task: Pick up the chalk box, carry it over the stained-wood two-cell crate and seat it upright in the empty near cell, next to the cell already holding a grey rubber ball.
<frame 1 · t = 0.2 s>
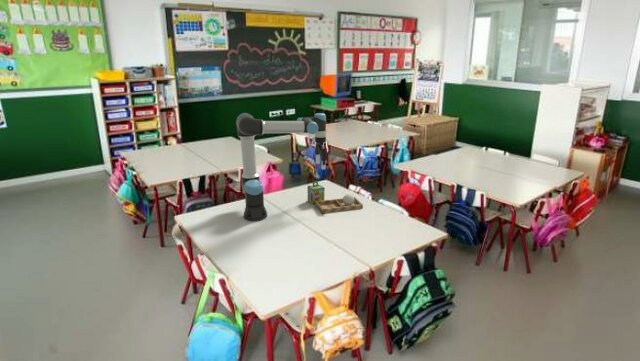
hand: (320, 166, 283), 26 cm above the table, fingers open, 13 cm apart
grey ball: (348, 205, 282), point 1 cm above the table, touching crate
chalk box: (316, 202, 291), on the table
crate: (338, 207, 280), on the table
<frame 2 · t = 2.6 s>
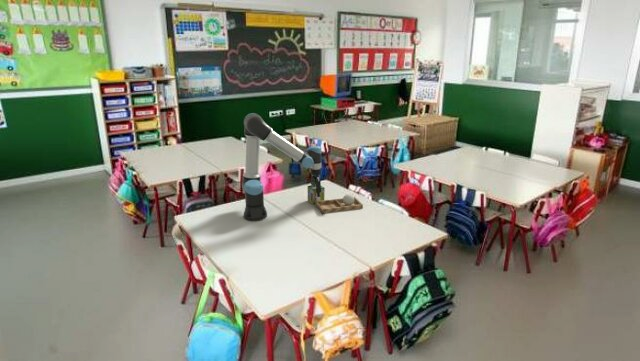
hand: (316, 198, 290), 3 cm above the table, fingers closed on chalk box, 10 cm apart
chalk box: (316, 202, 291), on the table, touching gripper
everything else where it was.
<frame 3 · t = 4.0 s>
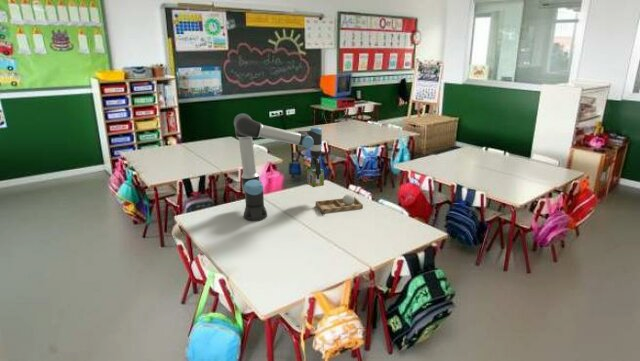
hand: (315, 180, 285), 16 cm above the table, fingers closed on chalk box, 10 cm apart
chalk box: (315, 184, 286), point 13 cm above the table, touching gripper
everything else where it was.
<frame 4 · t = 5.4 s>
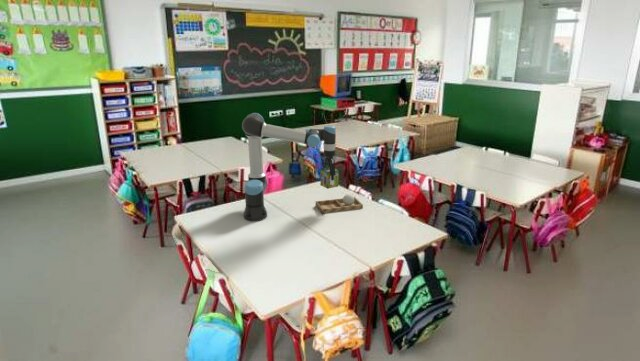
hand: (329, 181, 272), 20 cm above the table, fingers closed on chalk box, 10 cm apart
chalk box: (329, 186, 273), point 16 cm above the table, touching gripper
everything else where it was.
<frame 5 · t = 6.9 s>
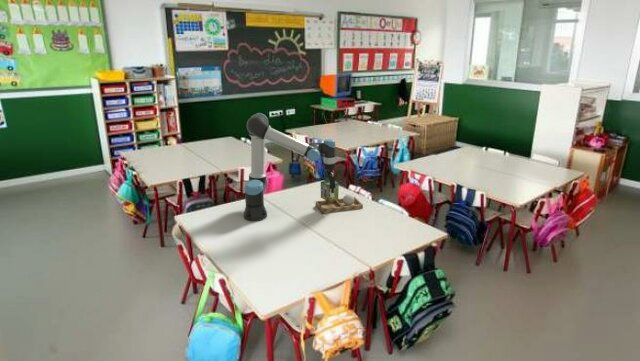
hand: (329, 194, 275), 11 cm above the table, fingers closed on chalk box, 10 cm apart
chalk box: (329, 198, 276), point 8 cm above the table, touching gripper
everything else where it was.
when the fingers open (6 cm above the table, at t = 8.3 s): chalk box drops 2 cm, resting on crate.
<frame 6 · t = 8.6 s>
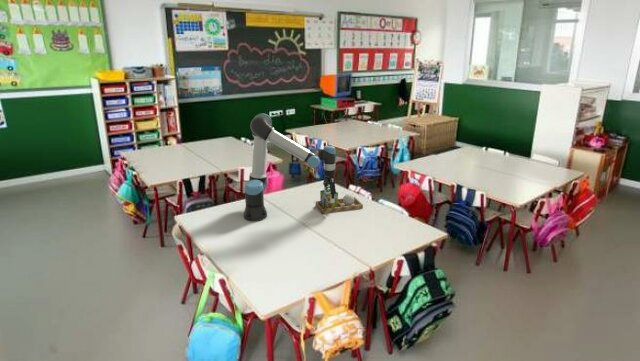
hand: (329, 199, 276), 7 cm above the table, fingers open, 13 cm apart
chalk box: (329, 207, 279), point 1 cm above the table, touching crate
everything else where it was.
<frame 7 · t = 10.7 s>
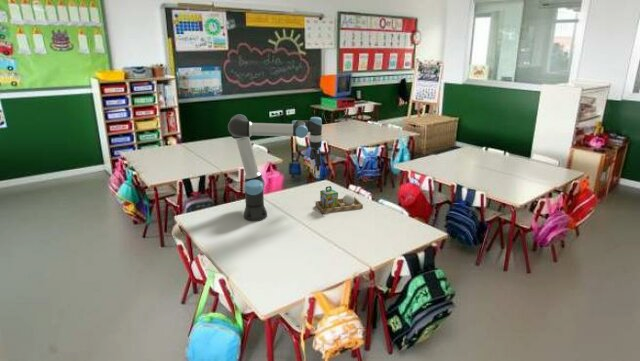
hand: (314, 171, 274), 25 cm above the table, fingers open, 13 cm apart
nothing on the table moved.
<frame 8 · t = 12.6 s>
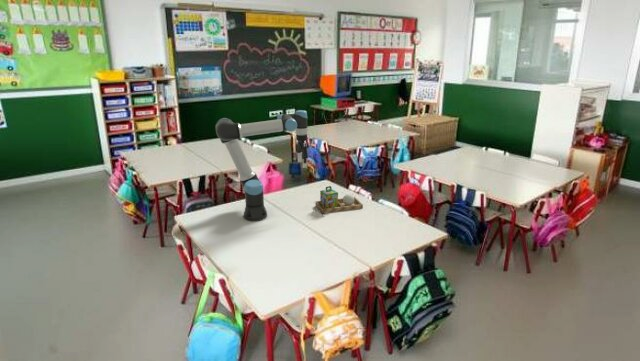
hand: (302, 164, 278), 29 cm above the table, fingers open, 13 cm apart
nothing on the table moved.
at the end: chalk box inside the target area on the crate (0.4 cm from its centre), point 0.8 cm above the crate's base; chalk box tilted 0°; the gripper is holding nothing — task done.
